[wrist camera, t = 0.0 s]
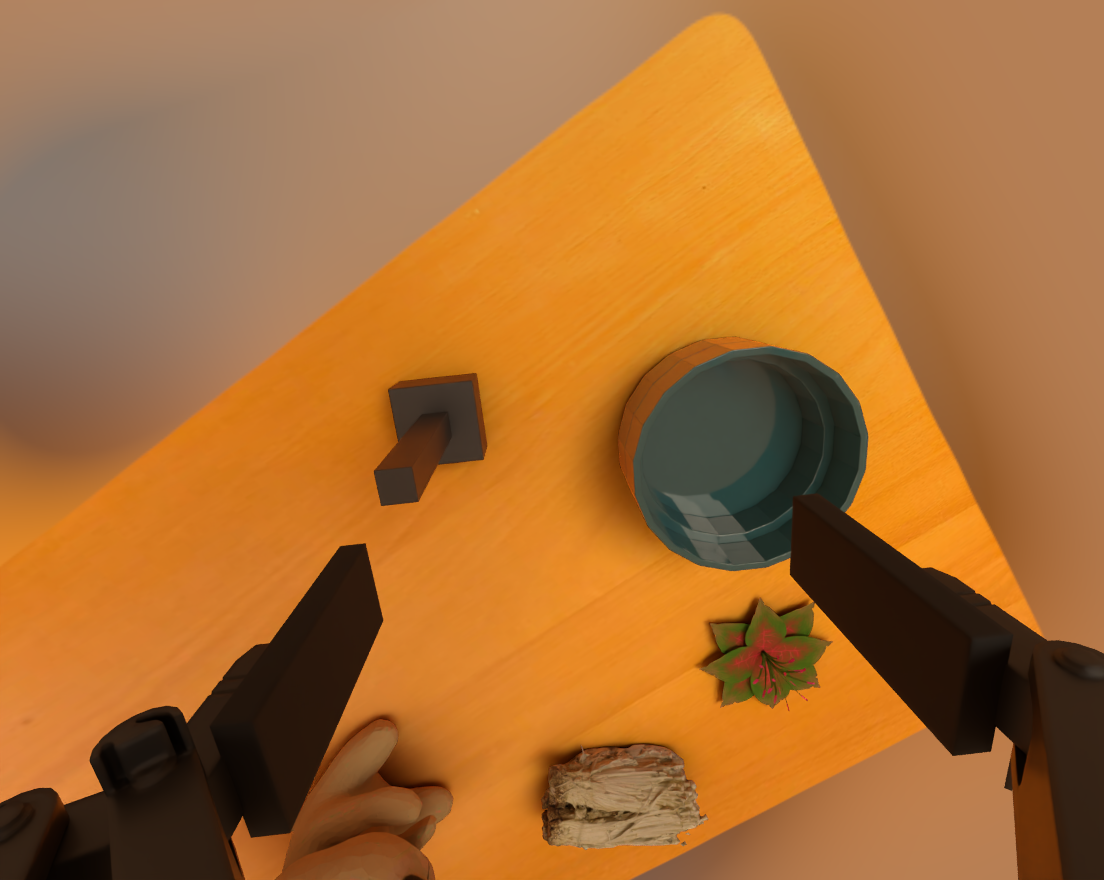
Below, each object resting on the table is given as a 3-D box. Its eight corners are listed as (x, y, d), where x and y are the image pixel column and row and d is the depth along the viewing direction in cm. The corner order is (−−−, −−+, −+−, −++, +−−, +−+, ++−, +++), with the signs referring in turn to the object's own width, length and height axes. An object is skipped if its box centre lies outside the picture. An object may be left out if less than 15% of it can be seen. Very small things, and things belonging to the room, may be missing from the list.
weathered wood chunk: (540, 817, 49) (542, 880, 44) (541, 738, 46) (542, 795, 41) (689, 812, 50) (707, 873, 45) (697, 734, 47) (718, 789, 42)
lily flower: (686, 606, 43) (704, 642, 39) (828, 578, 43) (862, 611, 38) (702, 717, 46) (720, 762, 42) (833, 692, 46) (865, 734, 42)
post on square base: (398, 381, 37) (322, 436, 23) (476, 372, 37) (445, 423, 23) (412, 455, 38) (349, 546, 25) (487, 446, 38) (464, 533, 25)
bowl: (610, 348, 37) (627, 361, 30) (818, 326, 37) (877, 334, 30) (623, 537, 41) (639, 582, 35) (809, 516, 41) (858, 557, 35)
